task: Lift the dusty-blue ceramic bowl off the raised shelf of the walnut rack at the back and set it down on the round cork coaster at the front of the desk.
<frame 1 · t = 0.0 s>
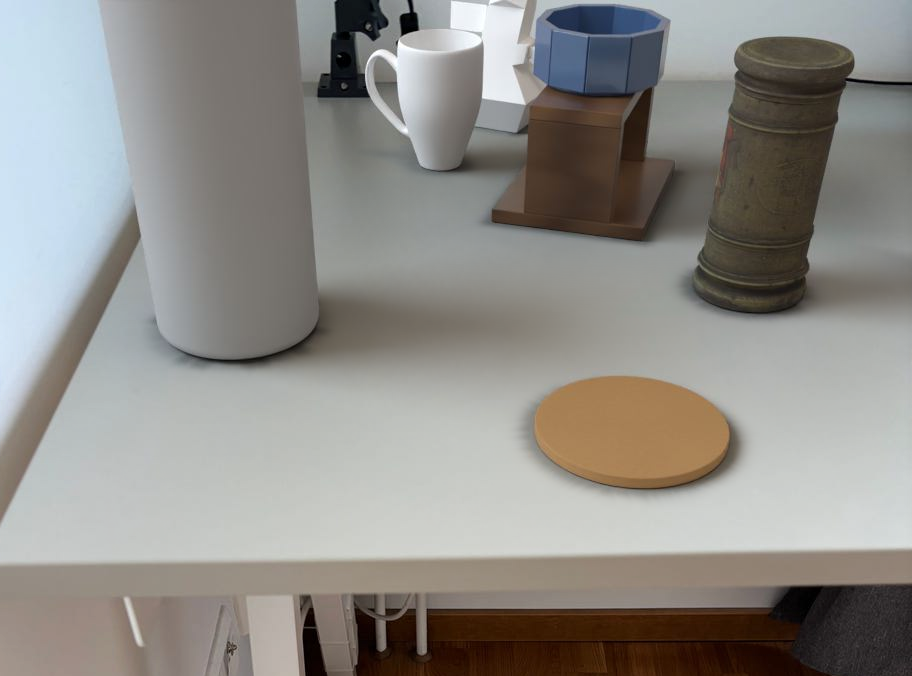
rack: (586, 195, 105), on the table
coaster: (630, 433, 74), on the table
white faceted sculpture: (500, 122, 122), on the table
cylinder vase: (240, 327, 85), on the table
bowl: (597, 79, 98), point 10 cm above the table, touching rack
container: (746, 291, 90), on the table
mug: (423, 163, 112), on the table
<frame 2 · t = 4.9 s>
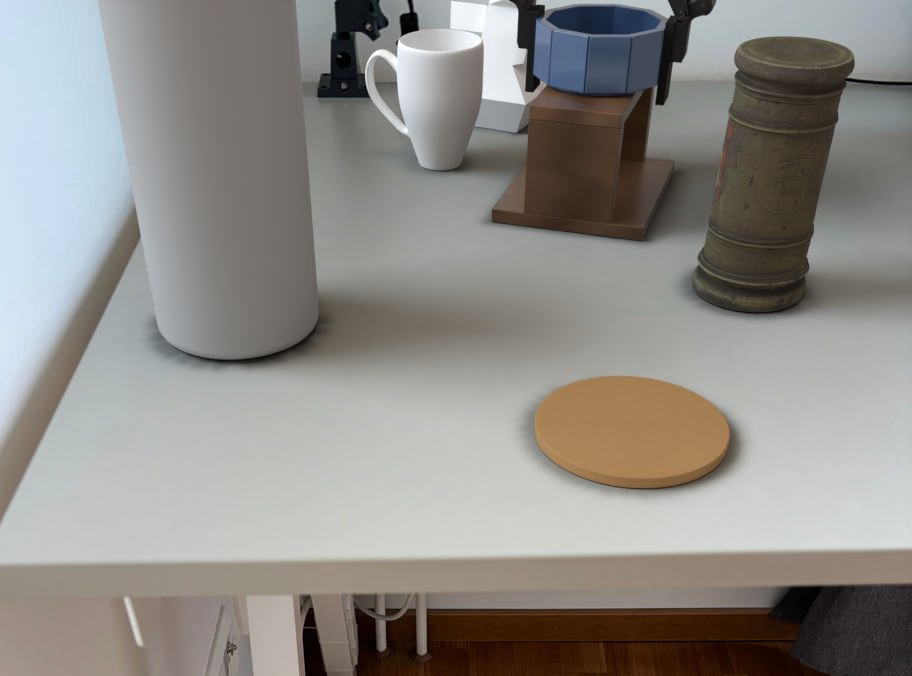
hand: (596, 94, 99), 9 cm above the table, tool pointing down, fingers closed on bowl, 11 cm apart
bowl: (597, 79, 98), point 10 cm above the table, touching gripper, rack
everything else where it was.
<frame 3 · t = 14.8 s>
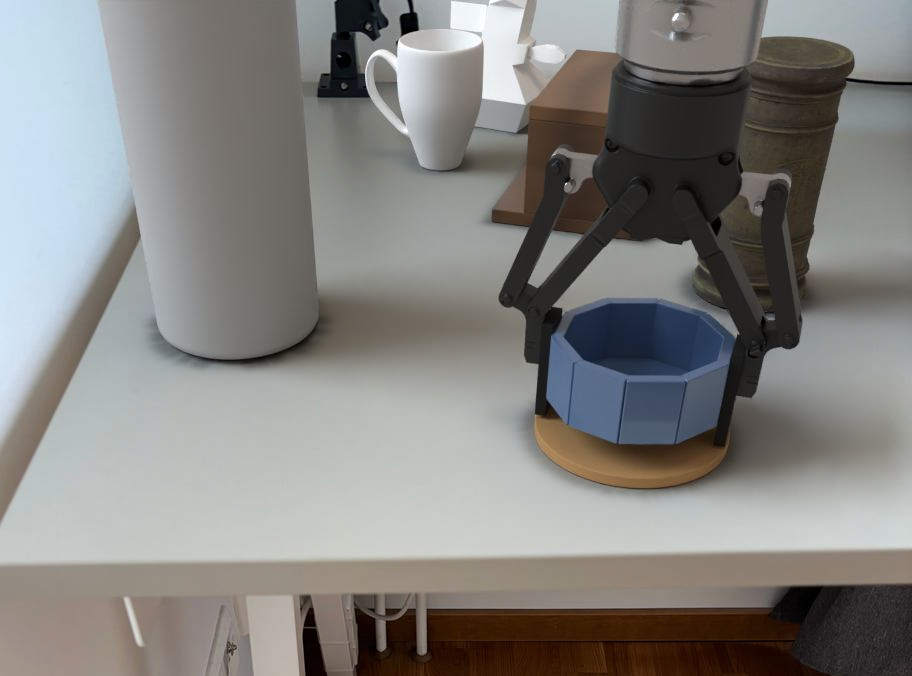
hand: (631, 420, 73), 1 cm above the table, tool pointing down, fingers closed on bowl, 11 cm apart
bowl: (633, 404, 72), point 2 cm above the table, touching gripper
everything else where it was.
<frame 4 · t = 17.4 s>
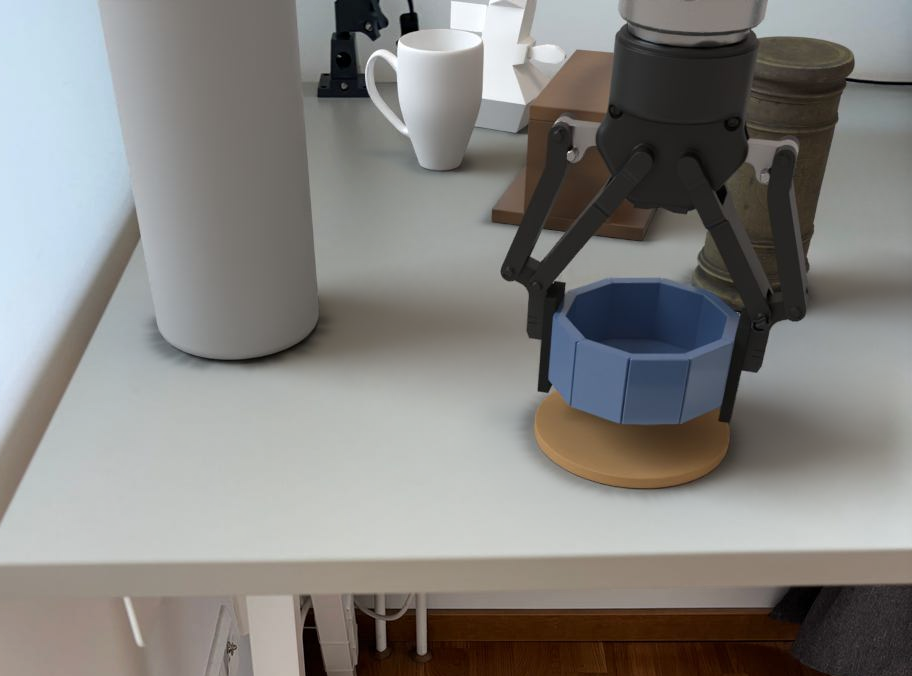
hand: (635, 397, 72), 3 cm above the table, tool pointing down, fingers closed on bowl, 11 cm apart
bowl: (637, 384, 71), point 4 cm above the table, touching gripper
everything else where it was.
when the fingers open (3 cm above the table, at t = 30.1 s): bowl drops 3 cm, resting on coaster.
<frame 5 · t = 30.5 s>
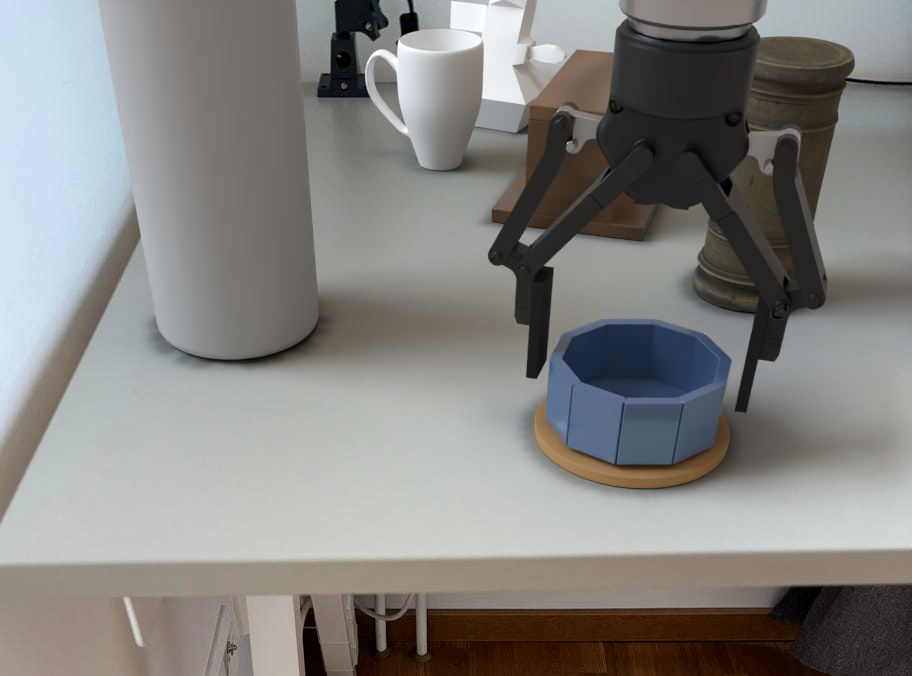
hand: (637, 385, 71), 4 cm above the table, tool pointing down, fingers open, 13 cm apart
bowl: (631, 423, 73), point 1 cm above the table, touching coaster
everything else where it was.
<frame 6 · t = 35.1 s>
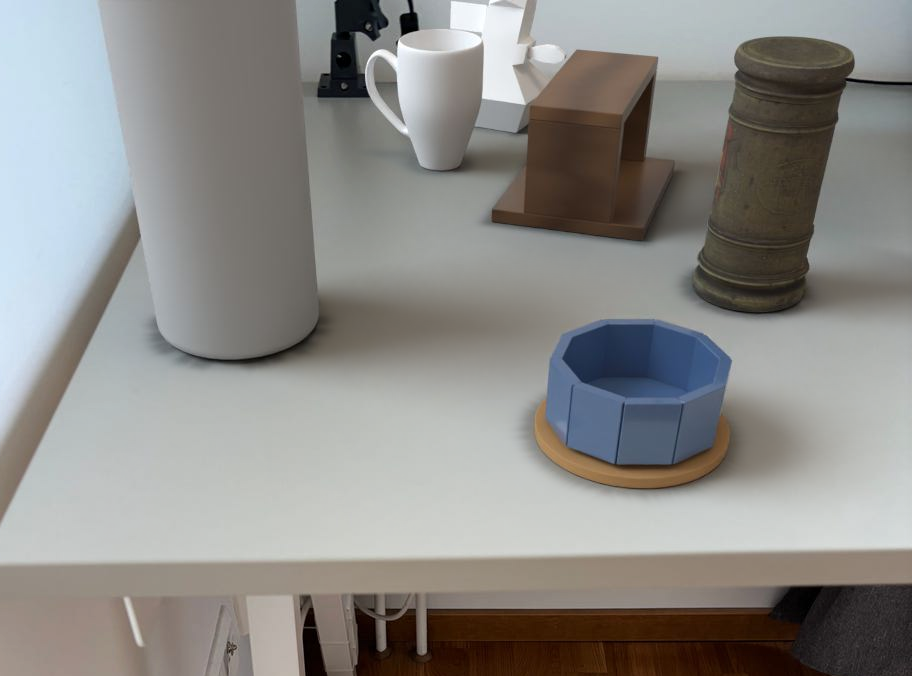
nothing on the table moved.
at the end: bowl inside the target area on the coaster (0.0 cm from its centre), point 0.8 cm above the coaster's base; bowl tilted 0°; the gripper is holding nothing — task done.
